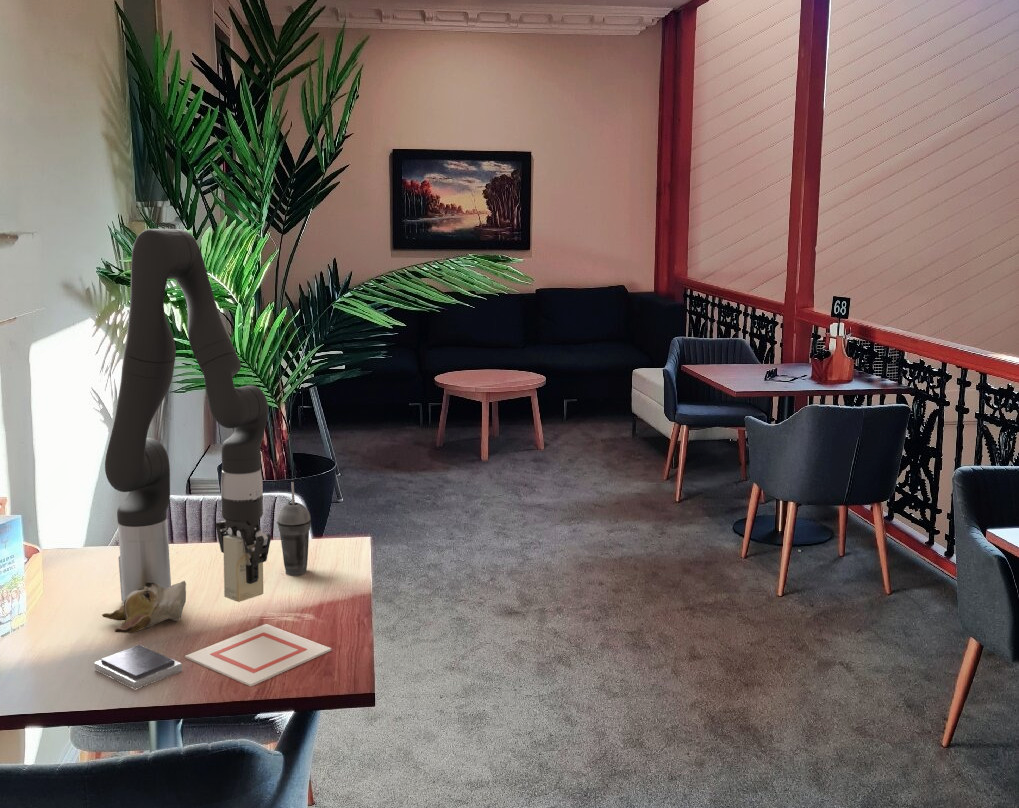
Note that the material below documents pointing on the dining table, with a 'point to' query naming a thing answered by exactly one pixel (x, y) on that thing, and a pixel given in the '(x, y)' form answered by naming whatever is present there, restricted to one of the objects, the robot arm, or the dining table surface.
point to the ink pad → (138, 666)
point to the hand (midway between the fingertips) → (244, 578)
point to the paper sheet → (258, 654)
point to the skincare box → (239, 571)
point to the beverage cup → (294, 536)
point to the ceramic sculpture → (150, 607)
